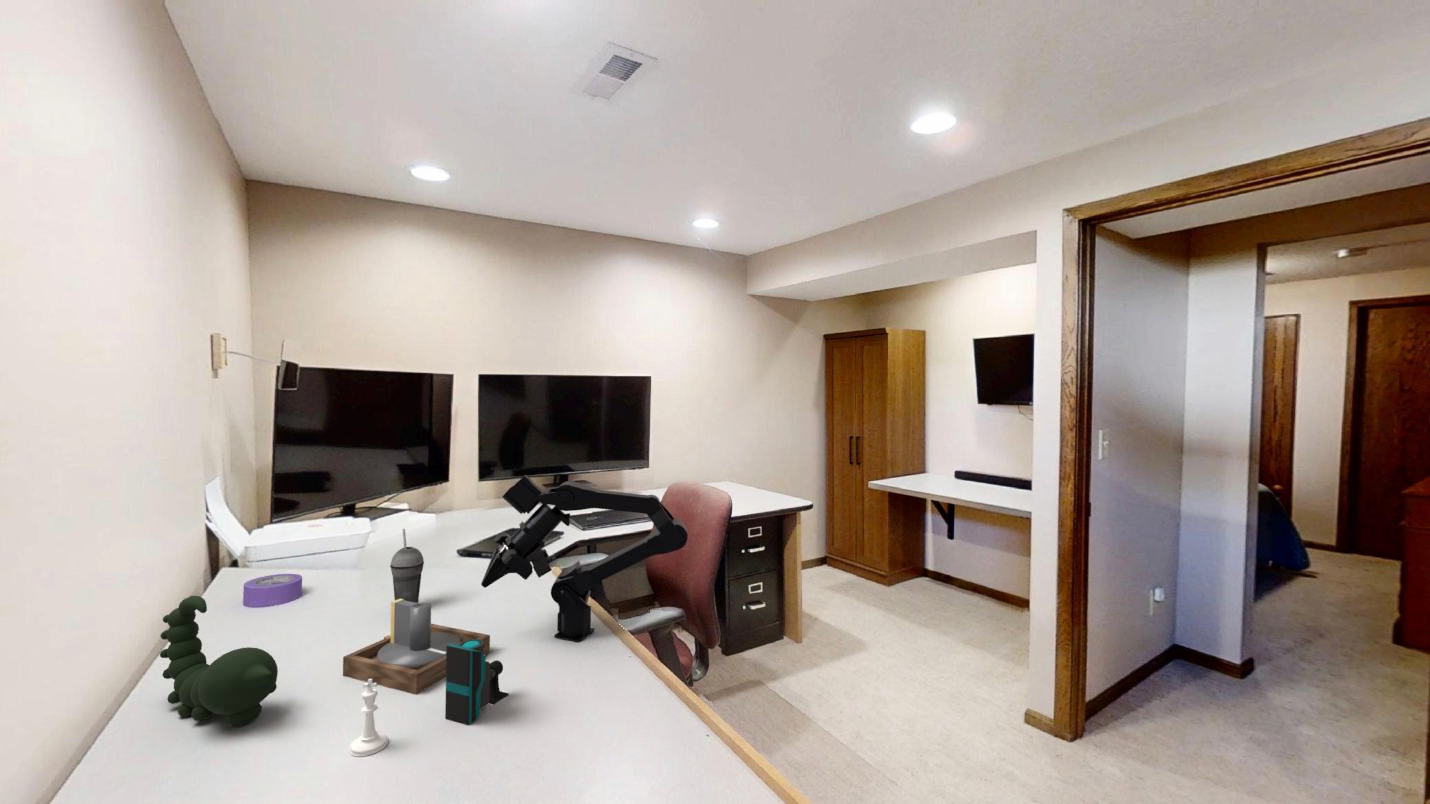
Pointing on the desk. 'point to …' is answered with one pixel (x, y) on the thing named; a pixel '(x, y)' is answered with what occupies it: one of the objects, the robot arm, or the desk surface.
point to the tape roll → (272, 590)
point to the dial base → (399, 677)
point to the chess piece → (369, 727)
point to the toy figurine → (214, 672)
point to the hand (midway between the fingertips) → (483, 586)
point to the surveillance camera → (470, 681)
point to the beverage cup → (407, 572)
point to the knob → (414, 637)
